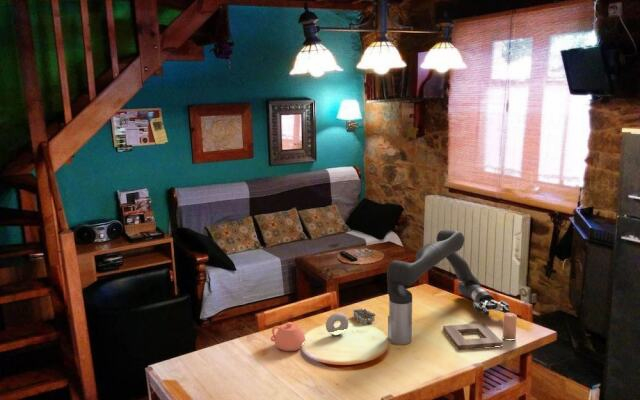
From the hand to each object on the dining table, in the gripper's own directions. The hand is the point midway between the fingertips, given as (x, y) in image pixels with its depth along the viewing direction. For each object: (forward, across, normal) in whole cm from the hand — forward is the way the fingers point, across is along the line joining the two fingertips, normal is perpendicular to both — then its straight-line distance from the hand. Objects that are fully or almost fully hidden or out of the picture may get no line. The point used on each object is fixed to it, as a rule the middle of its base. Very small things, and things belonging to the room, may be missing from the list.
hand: (498, 312), depth 224 cm
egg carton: (-16, -55, +6) cm, 58 cm away
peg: (+11, 0, +6) cm, 13 cm away
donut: (-2, -69, +6) cm, 69 cm away
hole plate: (+9, -15, +6) cm, 19 cm away
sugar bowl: (+5, -90, +6) cm, 90 cm away
